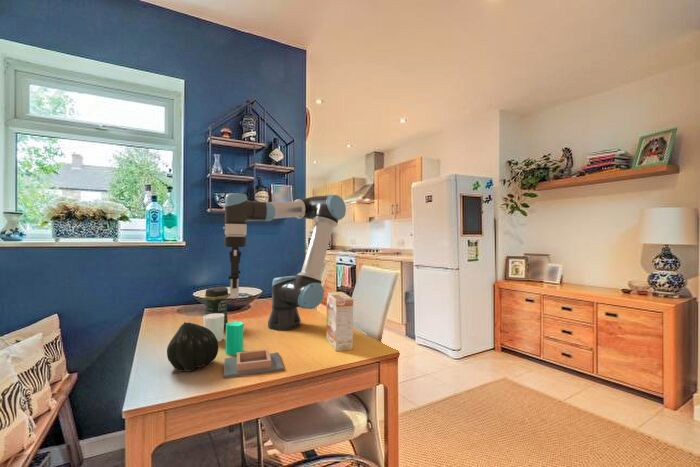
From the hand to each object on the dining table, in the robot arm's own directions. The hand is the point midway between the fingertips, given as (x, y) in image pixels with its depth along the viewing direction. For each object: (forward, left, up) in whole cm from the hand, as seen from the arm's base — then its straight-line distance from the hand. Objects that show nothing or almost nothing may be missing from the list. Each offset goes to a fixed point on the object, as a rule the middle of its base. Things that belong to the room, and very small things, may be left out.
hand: (234, 294), depth 120 cm
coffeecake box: (-39, +3, -21) cm, 45 cm away
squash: (+13, +9, -21) cm, 27 cm away
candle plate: (-6, +14, -21) cm, 26 cm away
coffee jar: (+8, -34, -21) cm, 41 cm away
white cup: (+8, -16, -21) cm, 28 cm away
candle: (0, 0, -21) cm, 21 cm away
